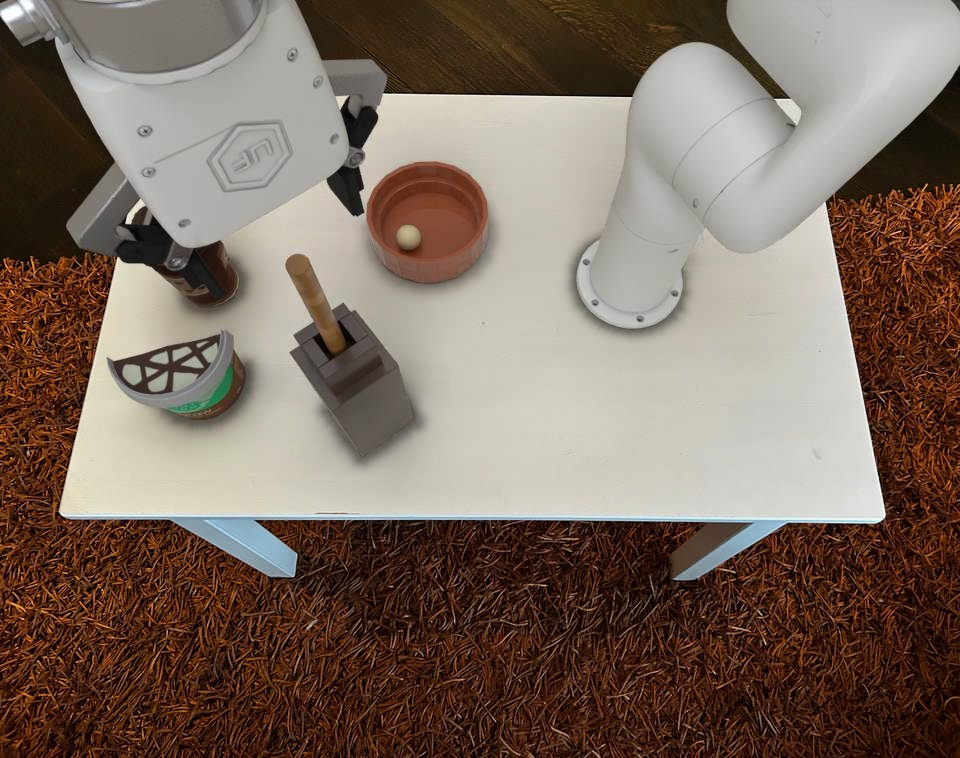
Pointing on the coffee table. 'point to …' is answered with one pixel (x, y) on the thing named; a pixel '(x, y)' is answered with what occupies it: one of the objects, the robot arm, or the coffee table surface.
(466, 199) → the bowl
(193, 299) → the coffee cup
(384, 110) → the coffee table surface
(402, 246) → the dough ball
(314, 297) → the stick
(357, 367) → the holder
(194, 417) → the food container
